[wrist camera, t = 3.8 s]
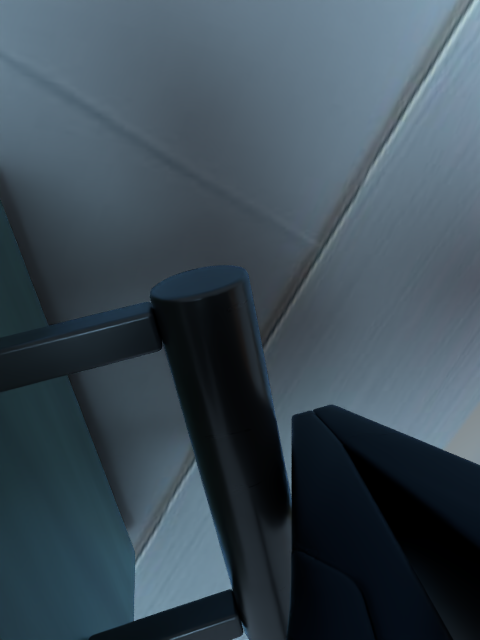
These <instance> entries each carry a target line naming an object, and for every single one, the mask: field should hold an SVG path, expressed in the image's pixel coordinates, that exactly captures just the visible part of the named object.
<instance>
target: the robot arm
mask: <svg viewBox="0 0 480 640" xmlns="http://www.w3.org/2000/svg"><path fill="white" fill-rule="evenodd" d="M291 548H292V552H291V589H290V609H289V617H288V626H287V635H286V640H480V465H478V464H476V463H473V462H471V461H469V460H466V459H464V458H461V457H459V456H456V455H454V454H451V453H449V452H447V451H444V450H442V449H439V448H437V447H435V446H432V445H430V444H427V443H425V442H423V441H420V440H418V439H415V438H413V437H410V436H408V435H406V434H403V433H401V432H398V431H396V430H394V429H391V428H389V427H386V426H384V425H381V424H379V423H377V422H374V421H372V420H369V419H367V418H364V417H362V416H360V415H357V414H355V413H352V412H350V411H348V410H345V409H343V408H340V407H338V406H335V405H327V406H324V407H320V408H317V409H314V410H313V411H306V412H303V413H299V414H296V415H293V416H292V509H291Z"/></svg>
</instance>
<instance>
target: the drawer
mask: <svg viewBox="0 0 480 640" xmlns="http://www.w3.org/2000/svg"><path fill="white" fill-rule="evenodd" d="M150 300H151V302H143V303H139V304H135V305H131V306H127V307H123V308H119V309H115V310H111V311H107V312H103V313H99V314H94V315H90V316H86V317H82V318H78V319H74V320H70V321H66V322H62V323H58V324H54V325H50V326H48V323H47V320H46V318H45V315H44V313H43V310H42V307H41V305H40V302H39V300H38V297H37V294H36V292H35V289H34V286H33V284H32V281H31V279H30V276H29V273H28V271H27V268H26V266H25V263H24V260H23V258H22V255H21V252H20V250H19V247H18V245H17V242H16V239H15V237H14V234H13V232H12V229H11V226H10V224H9V221H8V218H7V216H6V213H5V211H4V208H3V205H2V203H1V200H0V640H232V639H235V638H237V637H240V636H242V635H243V628H244V631H245V633H246V635H247V637H248V639H249V640H286V635H287V626H288V617H289V609H290V589H291V552H292V548H291V509H292V498H291V493H290V488H289V483H288V477H287V472H286V467H285V462H284V457H283V451H282V446H281V441H280V436H279V431H278V425H277V420H276V415H275V410H274V404H273V399H272V394H271V389H270V384H269V378H268V373H267V368H266V363H265V358H264V352H263V347H262V342H261V337H260V331H259V326H258V321H257V316H256V311H255V305H254V300H253V295H252V290H251V285H250V279H249V274H248V273H247V271H246V270H245V269H244V268H242V267H239V266H232V265H217V266H208V267H202V268H197V269H193V270H189V271H185V272H182V273H179V274H176V275H174V276H171V277H169V278H167V279H165V280H163V281H161V282H160V283H158V284H157V285H155V286H154V287H153V288H152V289H151V291H150ZM162 342H163V346H164V349H165V353H166V356H167V360H168V363H169V367H170V370H171V374H172V377H173V381H174V384H175V388H176V391H177V395H178V399H179V402H180V406H181V409H182V413H183V416H184V420H185V423H186V427H187V430H188V434H189V437H190V441H191V444H192V448H193V452H194V455H195V459H196V462H197V466H198V469H199V473H200V476H201V480H202V483H203V487H204V490H205V494H206V497H207V501H208V505H209V508H210V512H211V515H212V519H213V522H214V526H215V529H216V533H217V536H218V540H219V543H220V547H221V550H222V554H223V558H224V561H225V565H226V568H227V572H228V575H229V579H230V582H231V586H232V589H233V590H232V589H229V590H226V591H223V592H220V593H217V594H214V595H211V596H208V597H205V598H202V599H199V600H196V601H193V602H190V603H187V604H184V605H181V606H178V607H175V608H172V609H169V610H166V611H163V612H160V613H157V614H154V615H151V616H148V617H145V618H142V619H139V620H136V621H134V583H135V551H134V548H133V545H132V543H131V540H130V538H129V535H128V532H127V530H126V527H125V525H124V522H123V519H122V517H121V514H120V511H119V509H118V506H117V504H116V501H115V498H114V496H113V493H112V491H111V488H110V485H109V483H108V480H107V477H106V475H105V472H104V470H103V467H102V464H101V462H100V459H99V457H98V454H97V451H96V449H95V446H94V443H93V441H92V438H91V436H90V433H89V430H88V428H87V425H86V422H85V420H84V417H83V415H82V412H81V409H80V407H79V404H78V402H77V399H76V396H75V394H74V391H73V388H72V386H71V383H70V381H69V378H68V375H70V374H73V373H77V372H81V371H85V370H89V369H93V368H96V367H100V366H104V365H108V364H112V363H116V362H119V361H123V360H127V359H131V358H135V357H139V356H142V355H146V354H150V353H154V352H158V351H160V350H161V349H162ZM241 621H242V622H241ZM242 625H243V627H242Z"/></svg>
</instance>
